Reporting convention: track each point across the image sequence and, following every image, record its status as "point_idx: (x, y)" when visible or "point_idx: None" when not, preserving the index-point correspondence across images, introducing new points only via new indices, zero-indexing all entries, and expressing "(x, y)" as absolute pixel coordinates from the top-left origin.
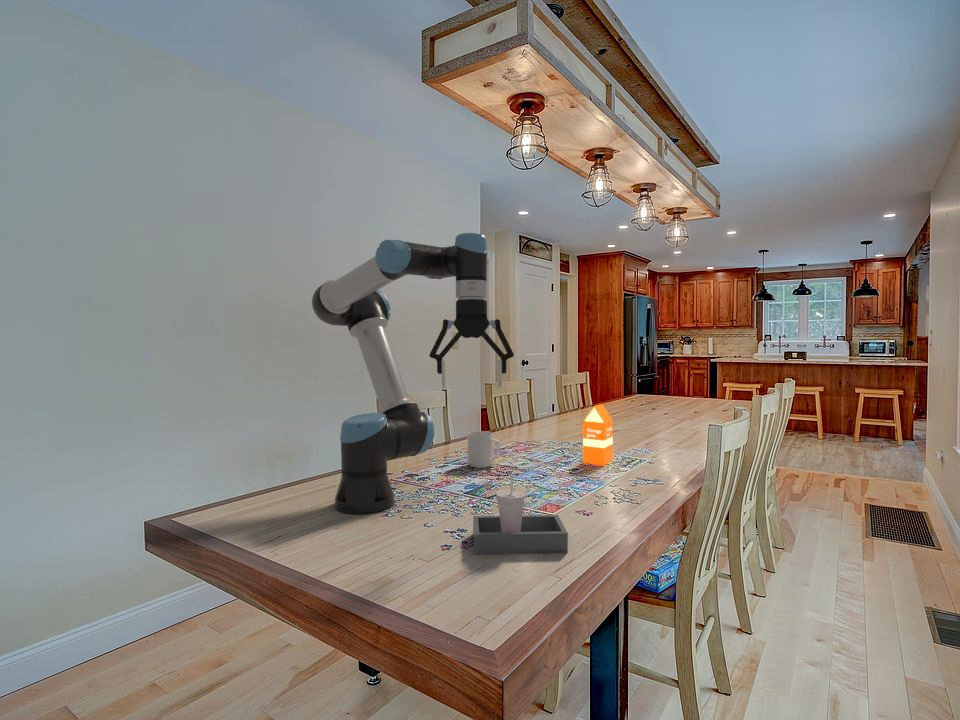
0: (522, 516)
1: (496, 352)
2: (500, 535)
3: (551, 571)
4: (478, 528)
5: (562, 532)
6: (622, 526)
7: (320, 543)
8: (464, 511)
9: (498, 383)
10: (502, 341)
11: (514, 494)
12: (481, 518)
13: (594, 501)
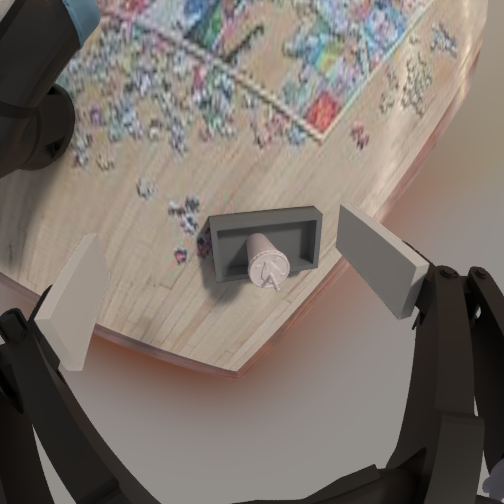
0: (277, 222)
1: (414, 353)
2: (245, 278)
3: (286, 293)
4: (220, 265)
5: (313, 266)
6: (383, 186)
7: (51, 259)
8: (188, 128)
9: (344, 246)
10: (475, 385)
11: (274, 277)
12: (221, 229)
13: (381, 95)
